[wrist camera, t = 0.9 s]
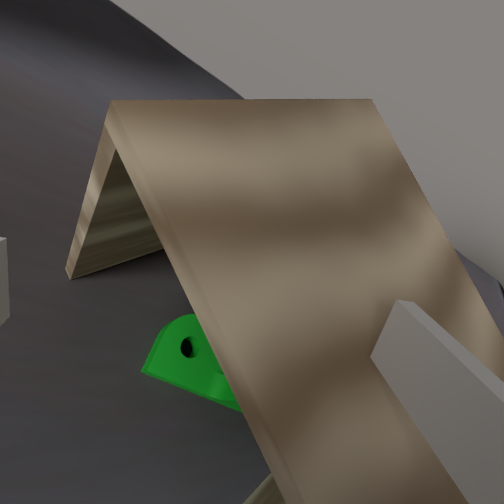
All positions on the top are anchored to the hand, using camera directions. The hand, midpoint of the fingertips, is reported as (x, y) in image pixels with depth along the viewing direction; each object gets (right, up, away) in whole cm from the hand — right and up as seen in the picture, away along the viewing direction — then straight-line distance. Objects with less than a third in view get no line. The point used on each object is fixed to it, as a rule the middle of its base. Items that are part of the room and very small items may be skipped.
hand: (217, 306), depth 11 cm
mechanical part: (-2, -9, +19) cm, 21 cm away
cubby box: (-2, -8, +19) cm, 21 cm away
